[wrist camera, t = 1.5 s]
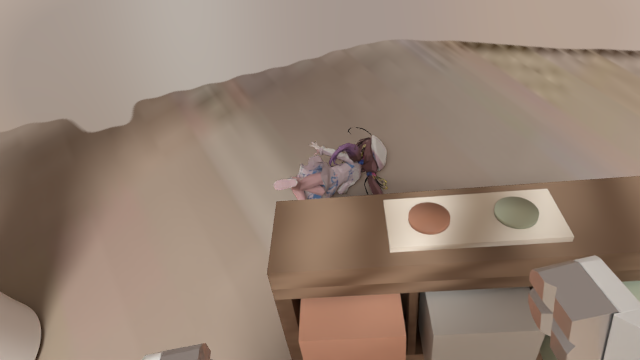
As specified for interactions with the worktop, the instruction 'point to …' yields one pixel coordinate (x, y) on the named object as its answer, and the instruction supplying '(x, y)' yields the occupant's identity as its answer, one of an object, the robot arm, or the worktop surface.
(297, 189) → the figurine
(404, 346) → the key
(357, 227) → the keypad console
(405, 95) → the worktop surface
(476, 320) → the key middle
